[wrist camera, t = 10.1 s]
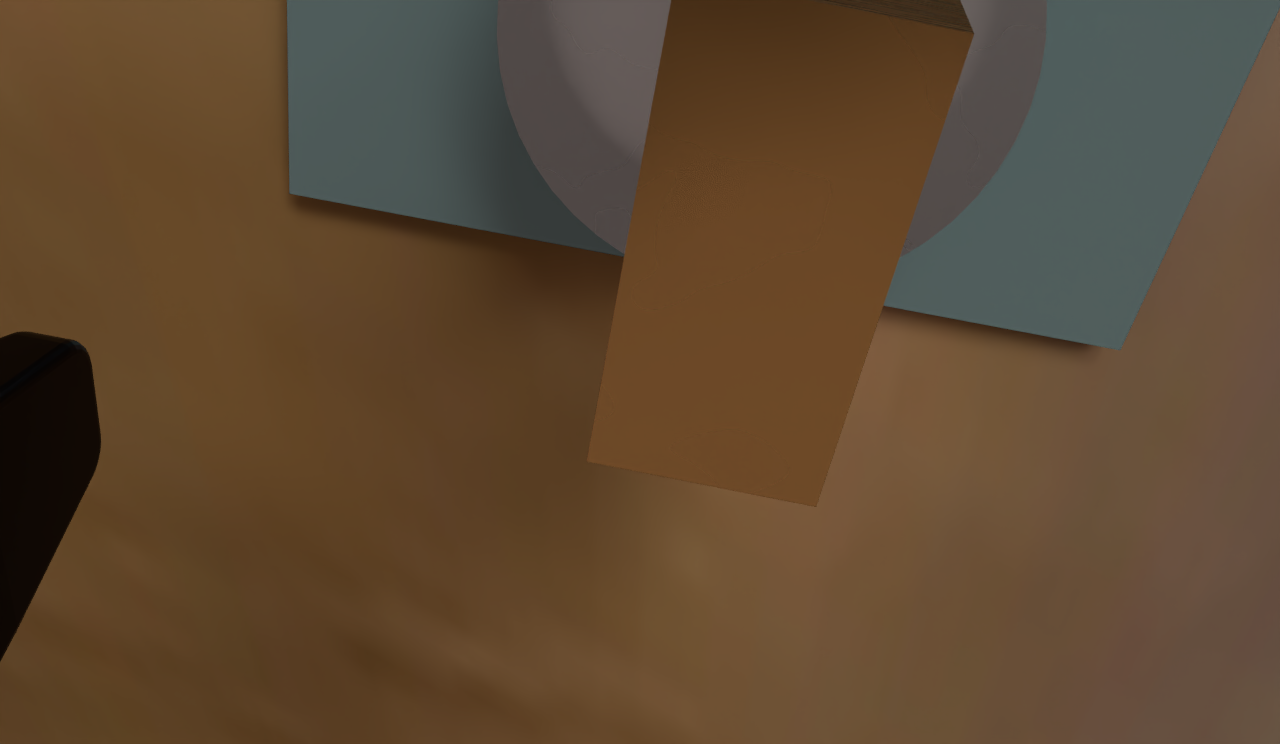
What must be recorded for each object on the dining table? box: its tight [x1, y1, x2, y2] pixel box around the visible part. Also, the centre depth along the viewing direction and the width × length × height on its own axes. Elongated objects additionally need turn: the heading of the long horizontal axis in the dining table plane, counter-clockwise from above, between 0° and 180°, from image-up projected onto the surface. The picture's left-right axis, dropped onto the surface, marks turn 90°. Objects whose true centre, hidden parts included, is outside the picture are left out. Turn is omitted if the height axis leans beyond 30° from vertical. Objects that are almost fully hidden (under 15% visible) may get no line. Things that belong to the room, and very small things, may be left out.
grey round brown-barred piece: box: [497, 0, 1047, 507], centre depth 14 cm, size 7×7×9 cm
